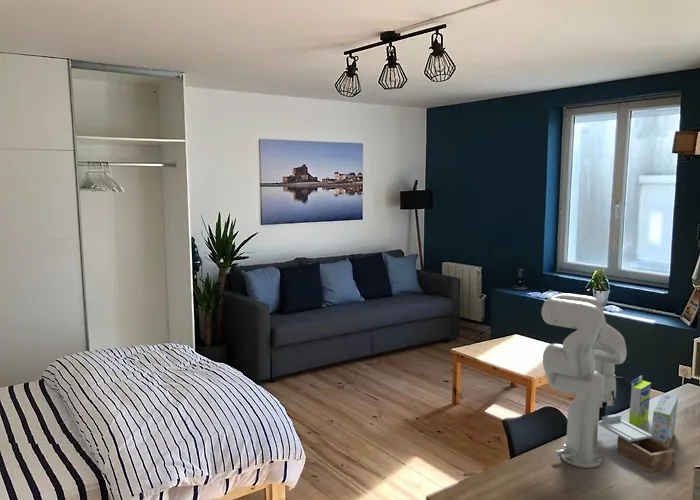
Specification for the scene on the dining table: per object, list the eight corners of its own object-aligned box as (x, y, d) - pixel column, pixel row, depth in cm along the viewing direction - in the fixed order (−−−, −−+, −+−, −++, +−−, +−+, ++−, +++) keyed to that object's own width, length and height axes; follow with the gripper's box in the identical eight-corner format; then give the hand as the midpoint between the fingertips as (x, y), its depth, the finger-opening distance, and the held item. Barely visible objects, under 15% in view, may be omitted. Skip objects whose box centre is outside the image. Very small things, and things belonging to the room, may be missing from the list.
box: (638, 427, 210) (642, 384, 208) (627, 424, 213) (630, 381, 211) (649, 419, 217) (652, 377, 215) (638, 416, 220) (641, 374, 218)
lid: (629, 442, 186) (630, 434, 185) (598, 424, 199) (598, 417, 198) (652, 437, 189) (653, 429, 189) (620, 420, 202) (620, 413, 202)
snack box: (666, 457, 189) (670, 415, 187) (648, 452, 192) (651, 410, 190) (675, 434, 205) (679, 395, 203) (658, 430, 209) (661, 391, 207)
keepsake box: (650, 473, 178) (651, 455, 177) (616, 452, 191) (617, 436, 190) (673, 468, 181) (675, 450, 181) (639, 448, 194) (640, 432, 194)
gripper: (580, 363, 208) (577, 409, 210) (610, 376, 194) (607, 426, 196) (596, 361, 210) (592, 407, 213) (627, 374, 196) (623, 423, 199)
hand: (599, 416), depth 205 cm, fingers closed
